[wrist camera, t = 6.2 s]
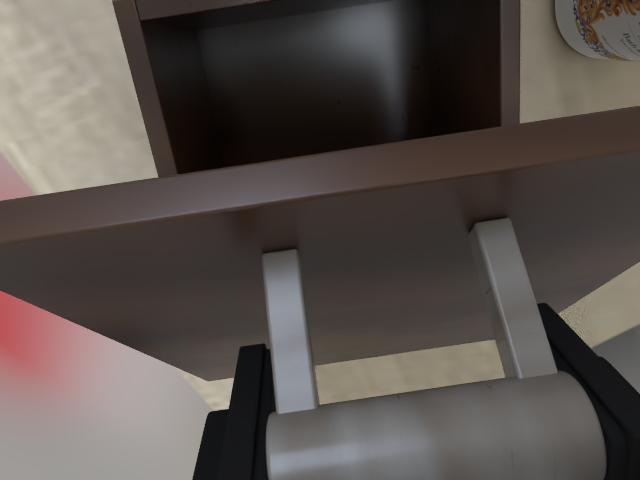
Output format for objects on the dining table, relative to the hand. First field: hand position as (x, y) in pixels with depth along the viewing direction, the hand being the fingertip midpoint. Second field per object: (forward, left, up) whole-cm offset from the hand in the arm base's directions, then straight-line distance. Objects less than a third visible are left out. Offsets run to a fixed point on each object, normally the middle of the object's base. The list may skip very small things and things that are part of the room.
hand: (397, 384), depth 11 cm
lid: (0, 0, -5) cm, 5 cm away
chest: (-1, +1, -23) cm, 23 cm away
